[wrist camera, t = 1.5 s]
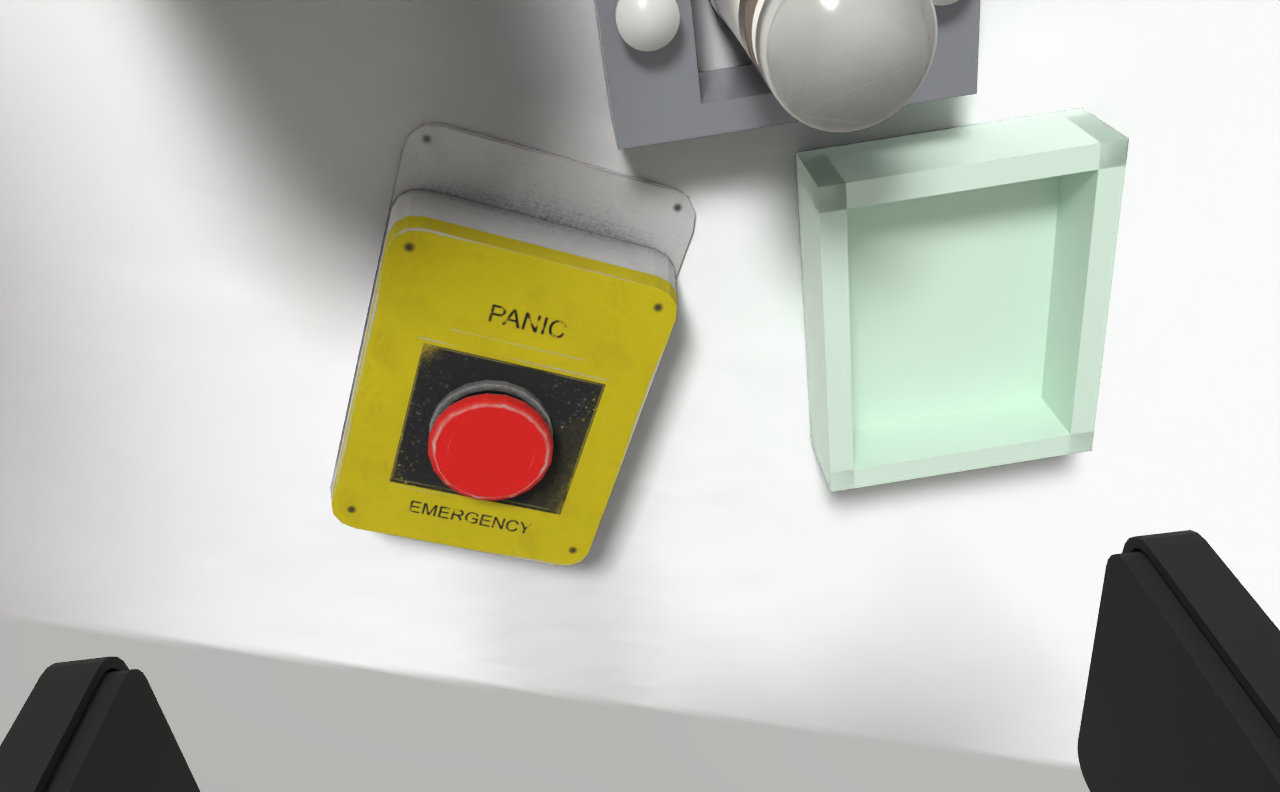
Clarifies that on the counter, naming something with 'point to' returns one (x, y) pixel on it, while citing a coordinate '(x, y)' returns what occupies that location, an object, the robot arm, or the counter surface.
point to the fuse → (837, 55)
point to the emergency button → (506, 346)
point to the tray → (958, 294)
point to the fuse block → (730, 73)
